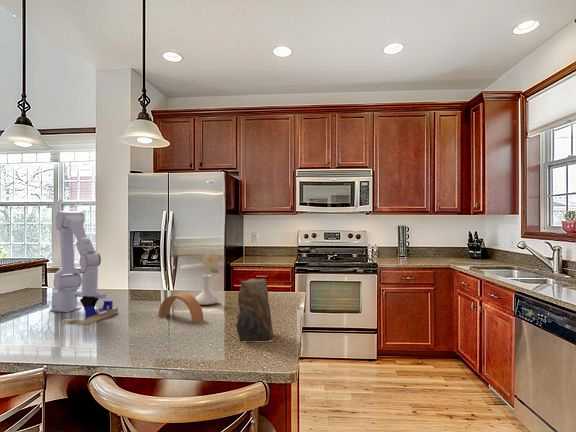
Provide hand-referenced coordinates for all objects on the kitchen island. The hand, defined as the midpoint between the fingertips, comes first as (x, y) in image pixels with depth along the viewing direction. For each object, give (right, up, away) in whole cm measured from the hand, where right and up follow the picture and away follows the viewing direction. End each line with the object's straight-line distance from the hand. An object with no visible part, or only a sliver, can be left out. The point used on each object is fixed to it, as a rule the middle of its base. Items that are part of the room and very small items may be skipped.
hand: (89, 315), depth 150 cm
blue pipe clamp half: (+4, -1, 0) cm, 4 cm away
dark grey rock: (+71, -2, -24) cm, 75 cm away
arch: (+38, -2, 0) cm, 38 cm away
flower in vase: (+43, -2, +25) cm, 50 cm away
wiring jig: (+2, -1, 0) cm, 2 cm away
